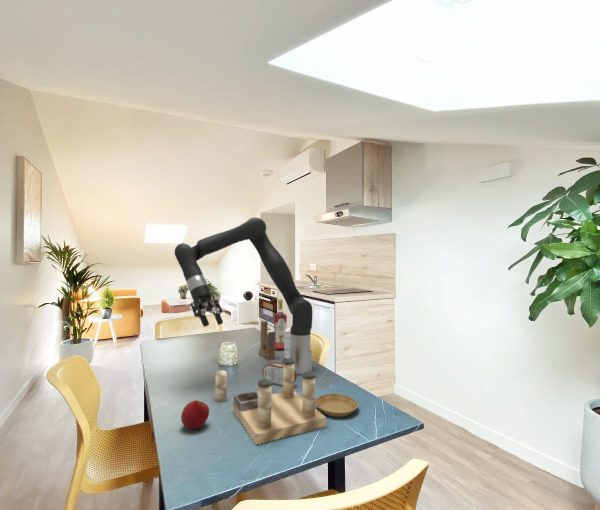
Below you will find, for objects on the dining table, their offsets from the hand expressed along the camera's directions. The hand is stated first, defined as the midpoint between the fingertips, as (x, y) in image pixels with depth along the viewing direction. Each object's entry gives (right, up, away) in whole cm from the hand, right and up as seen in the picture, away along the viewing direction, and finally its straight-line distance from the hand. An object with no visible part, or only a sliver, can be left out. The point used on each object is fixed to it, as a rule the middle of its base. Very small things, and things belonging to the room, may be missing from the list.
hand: (213, 324), depth 131 cm
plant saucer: (+46, -27, -14) cm, 55 cm away
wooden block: (+16, -26, +44) cm, 53 cm away
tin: (+25, -26, +8) cm, 37 cm away
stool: (+26, -26, -21) cm, 43 cm away
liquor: (+22, -26, +58) cm, 67 cm away
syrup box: (+29, -26, +43) cm, 58 cm away
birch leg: (+4, -26, -7) cm, 27 cm away
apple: (+1, -26, -27) cm, 38 cm away
